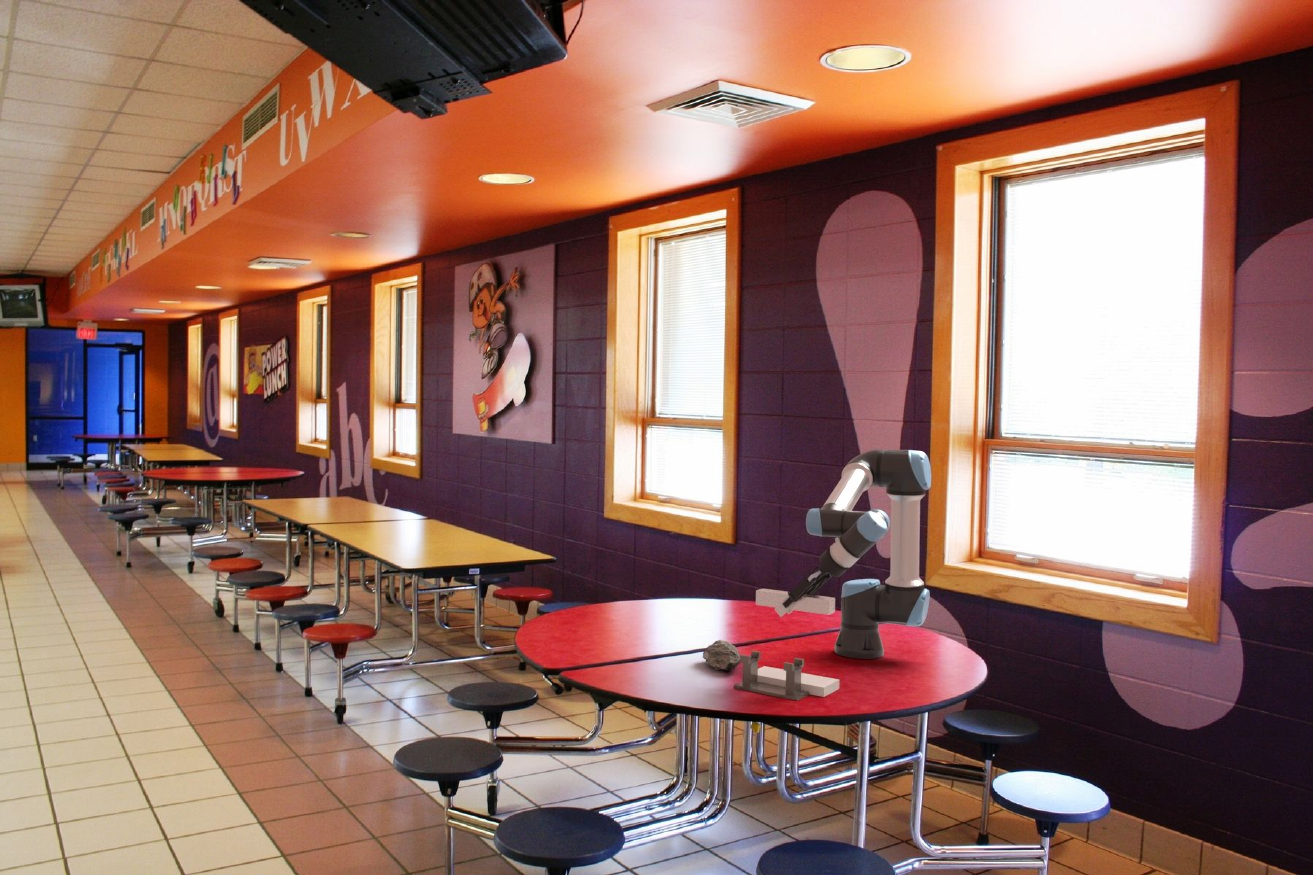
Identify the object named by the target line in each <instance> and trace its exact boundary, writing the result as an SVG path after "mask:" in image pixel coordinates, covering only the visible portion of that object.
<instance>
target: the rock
mask: <svg viewBox="0 0 1313 875" xmlns="http://www.w3.org/2000/svg"><path fill="white" fill-rule="evenodd" d="M740 655H741V654H740V651H739V650H738V648H737V647H736V646H735V645H733V644H732V643H731V642H730V641H727V640H724V639H719V640H715V641H714V642H713V643H712V644H709V645H708V646H707V647H706V648H705V650H703V653H702V658H703V659H704V660H705V663H706V664H707V665H709V666H711V667H713V668H714V669H716V670H726V671H728V672H729V671H730V672H731V671H733V670H735V668H736V667H737V666H739V665H740V664H741V663H740Z"/></svg>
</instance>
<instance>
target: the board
mask: <svg viewBox="0 0 1313 875" xmlns="http://www.w3.org/2000/svg"><path fill="white" fill-rule="evenodd" d="M757 682H761V683H766V684H771V685H776V686H782V687H786V671H784V668H776V667H770V666H765V665H763V666H762V667H758V681H757ZM839 689H840V679H839V678H838V679H837V678H832V677H826V676H821V675H815V674H809V673H805V672H801V690H803V691H808V692H809V695H813V696H817V697H822V698H824V697H826V696H828V695H830V694H833V693H834V692H836V691H837V690H839Z"/></svg>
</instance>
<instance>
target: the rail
mask: <svg viewBox="0 0 1313 875" xmlns="http://www.w3.org/2000/svg"><path fill="white" fill-rule="evenodd" d="M788 592H789V591H784V590H779V589H777V590H776V589H770V588H760V589H757V590H755V605H756V606H763V607H770V608H776V607H777V606H778V605H779V604H780V603H781V602H783V601H784V600H785V599H786V598H787V597H788V596H789V595H788ZM790 610H793V611H796V612H798V611H799V612H805V613H812V614H819V615H827V616H830V615H832V614H834V613H836V597H831V596H823V595H817V594H816V595H815V594H812V595H810V594H804V595H803V596H802V597H801V598H800V599H799V600H797V603H796V604H795V605H794V606H792V607H791V608H790Z"/></svg>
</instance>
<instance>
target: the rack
mask: <svg viewBox="0 0 1313 875" xmlns="http://www.w3.org/2000/svg"><path fill="white" fill-rule="evenodd" d="M761 653H762V652H761V651H758V650H751V651H750V655H748V654H747V655H746V654H740V664H742V676H741V677H742V681H740V682H738V683H735V684H734V685H733V689H738V690H742V691H745V692H746V691H747V692H753V693H757V694H761V695H762V694H763V695H767V696H771V697H776V698H781V699H786V700H792V701H796V702H797V701H800V700H802V699H804V698H805V697H808V696H809V695H810V694H809V692H808V691H803V690H801V673H802V668H804V666H805V659H804V658H798V657H794V658H793V663H792V662H788V661H785V662H783V670H784V671H786V687H782V686H776V685H771V684H766V683H761V682H757V681H758V669H759V660H761V656H762V654H761Z"/></svg>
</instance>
